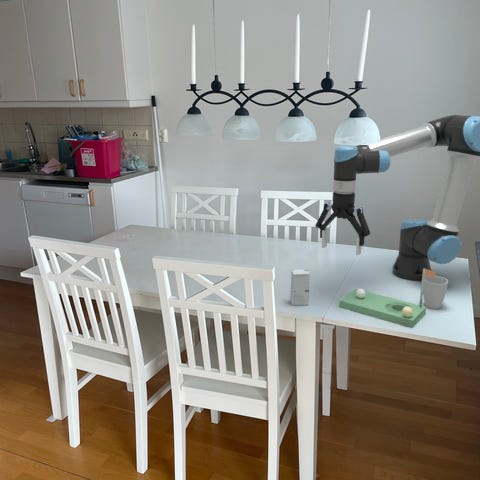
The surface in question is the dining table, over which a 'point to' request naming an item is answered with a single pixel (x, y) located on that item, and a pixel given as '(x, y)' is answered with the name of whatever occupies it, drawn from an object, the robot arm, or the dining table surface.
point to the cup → (434, 291)
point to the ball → (360, 293)
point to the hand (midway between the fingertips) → (340, 250)
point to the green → (382, 308)
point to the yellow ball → (407, 311)
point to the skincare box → (299, 287)
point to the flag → (425, 273)
